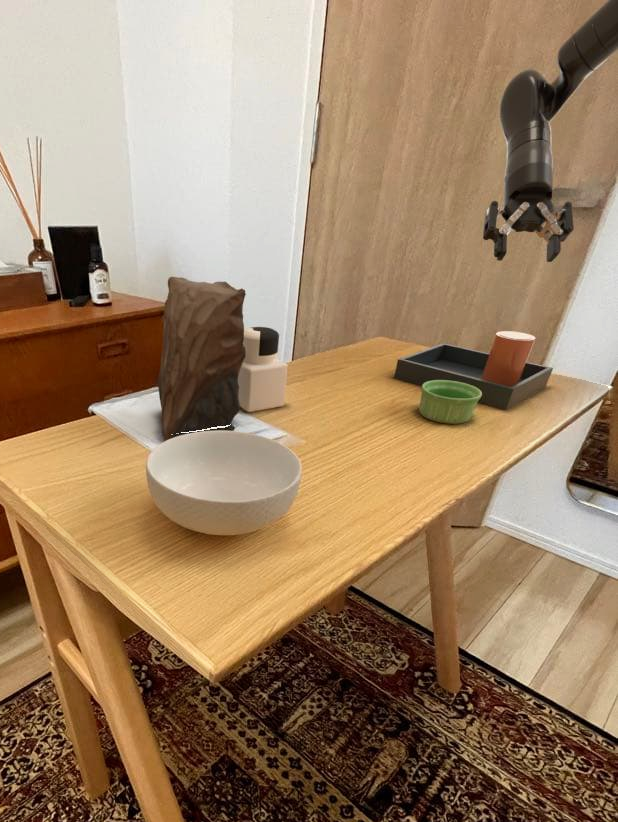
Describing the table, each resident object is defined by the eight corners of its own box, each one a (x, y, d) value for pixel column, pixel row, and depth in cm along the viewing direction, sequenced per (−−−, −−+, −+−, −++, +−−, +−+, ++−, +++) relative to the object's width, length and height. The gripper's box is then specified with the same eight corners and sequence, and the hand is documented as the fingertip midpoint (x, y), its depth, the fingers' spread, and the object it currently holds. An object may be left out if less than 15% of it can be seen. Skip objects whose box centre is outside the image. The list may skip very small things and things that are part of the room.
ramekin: (482, 415, 81) (491, 389, 79) (458, 431, 76) (468, 403, 74) (430, 400, 86) (437, 375, 84) (405, 414, 81) (412, 388, 79)
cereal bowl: (326, 528, 55) (336, 472, 51) (199, 581, 47) (198, 521, 43) (238, 466, 66) (240, 417, 62) (125, 501, 59) (119, 448, 55)
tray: (438, 360, 106) (443, 343, 104) (545, 387, 93) (553, 367, 91) (393, 377, 96) (397, 359, 94) (505, 410, 83) (513, 389, 81)
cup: (488, 378, 95) (505, 329, 89) (521, 387, 91) (541, 336, 85) (473, 385, 91) (490, 334, 86) (507, 395, 87) (527, 342, 82)
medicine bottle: (263, 393, 89) (268, 322, 82) (284, 406, 84) (291, 332, 76) (228, 399, 86) (230, 326, 79) (247, 413, 81) (252, 337, 74)
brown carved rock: (159, 409, 82) (151, 274, 70) (234, 407, 83) (239, 274, 71) (160, 442, 72) (152, 291, 60) (245, 438, 73) (253, 290, 61)
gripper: (496, 160, 87) (494, 241, 85) (582, 160, 86) (583, 243, 83) (478, 195, 95) (476, 271, 92) (557, 196, 93) (556, 273, 91)
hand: (526, 258), depth 88 cm, fingers open, 8 cm apart
